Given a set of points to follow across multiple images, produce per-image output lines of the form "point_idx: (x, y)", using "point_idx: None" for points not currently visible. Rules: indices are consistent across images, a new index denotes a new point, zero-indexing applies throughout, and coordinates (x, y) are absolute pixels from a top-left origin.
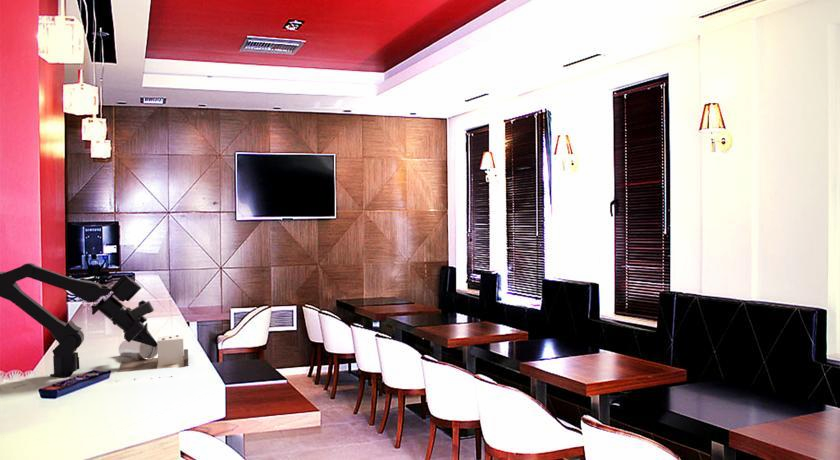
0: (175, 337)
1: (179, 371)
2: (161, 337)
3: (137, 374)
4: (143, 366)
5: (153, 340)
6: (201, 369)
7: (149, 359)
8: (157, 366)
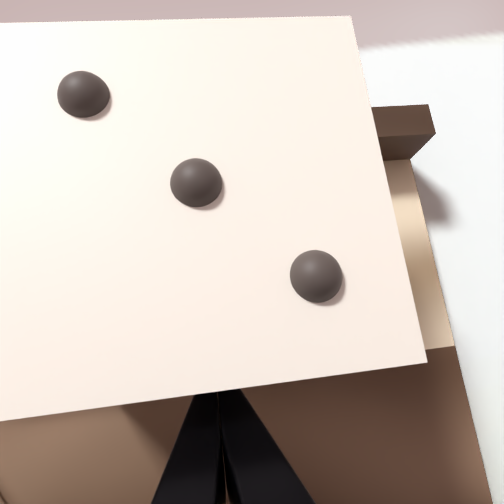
0: (181, 113)
1: (427, 198)
2: (64, 345)
3: None
4: (340, 486)
5: (281, 458)
6: (397, 77)
7: (2, 500)
8: None
